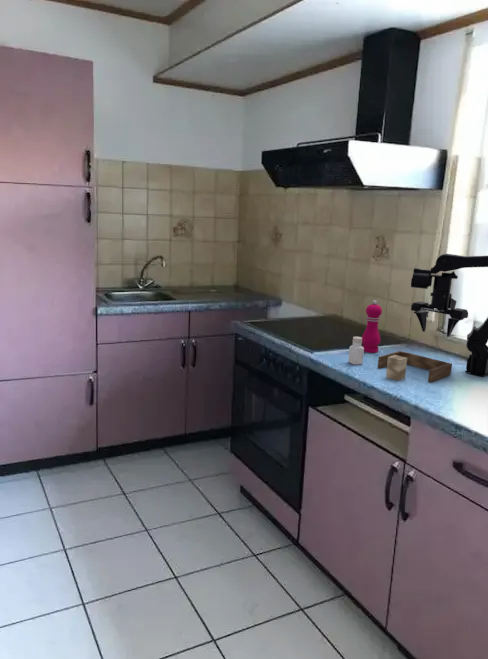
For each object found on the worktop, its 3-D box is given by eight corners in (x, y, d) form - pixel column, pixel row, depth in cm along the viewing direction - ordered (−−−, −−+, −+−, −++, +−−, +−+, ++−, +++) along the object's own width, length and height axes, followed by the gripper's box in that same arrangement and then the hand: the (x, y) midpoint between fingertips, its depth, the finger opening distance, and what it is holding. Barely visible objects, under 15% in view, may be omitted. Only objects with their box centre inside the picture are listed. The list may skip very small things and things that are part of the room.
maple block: (405, 378, 184) (407, 357, 182) (397, 380, 181) (400, 360, 179) (392, 374, 187) (395, 354, 185) (385, 377, 184) (388, 356, 182)
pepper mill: (364, 347, 222) (368, 298, 217) (381, 350, 218) (387, 300, 214) (357, 351, 216) (362, 300, 211) (375, 354, 212) (381, 302, 208)
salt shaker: (357, 361, 201) (359, 336, 199) (363, 364, 197) (365, 338, 195) (347, 362, 199) (349, 336, 197) (353, 365, 196) (355, 339, 194)
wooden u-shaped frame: (450, 374, 190) (452, 363, 189) (430, 382, 180) (432, 370, 179) (398, 361, 204) (399, 350, 203) (377, 367, 194) (378, 356, 193)
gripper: (477, 292, 192) (471, 336, 195) (427, 285, 205) (422, 326, 208) (463, 295, 184) (457, 340, 188) (412, 287, 197) (407, 330, 201)
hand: (435, 334), depth 196 cm, fingers open, 9 cm apart
